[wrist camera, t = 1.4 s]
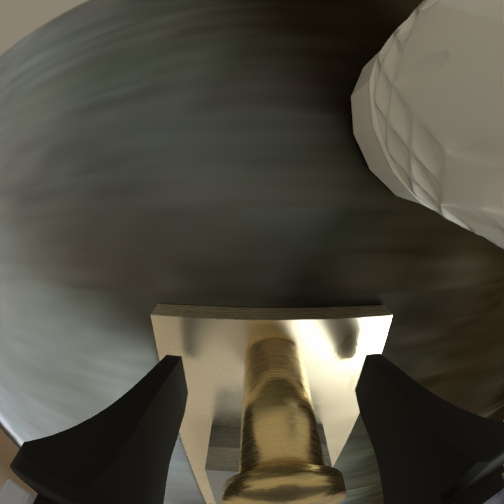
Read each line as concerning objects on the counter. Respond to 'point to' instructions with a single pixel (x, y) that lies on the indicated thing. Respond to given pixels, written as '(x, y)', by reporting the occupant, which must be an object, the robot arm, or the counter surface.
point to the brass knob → (280, 434)
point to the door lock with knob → (232, 373)
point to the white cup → (440, 112)
